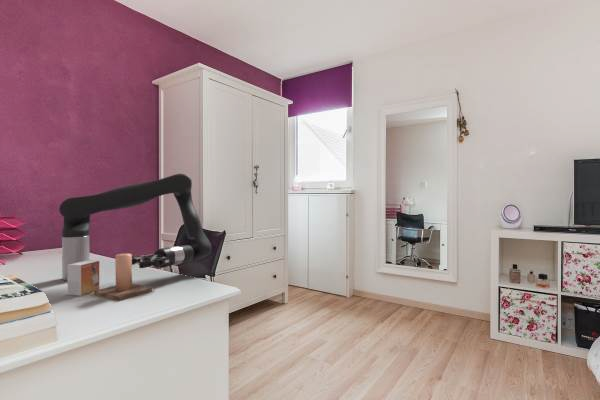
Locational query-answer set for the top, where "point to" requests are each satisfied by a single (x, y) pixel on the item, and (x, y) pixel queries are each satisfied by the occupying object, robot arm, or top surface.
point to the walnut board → (122, 292)
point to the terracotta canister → (123, 272)
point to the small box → (83, 277)
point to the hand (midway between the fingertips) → (132, 264)
